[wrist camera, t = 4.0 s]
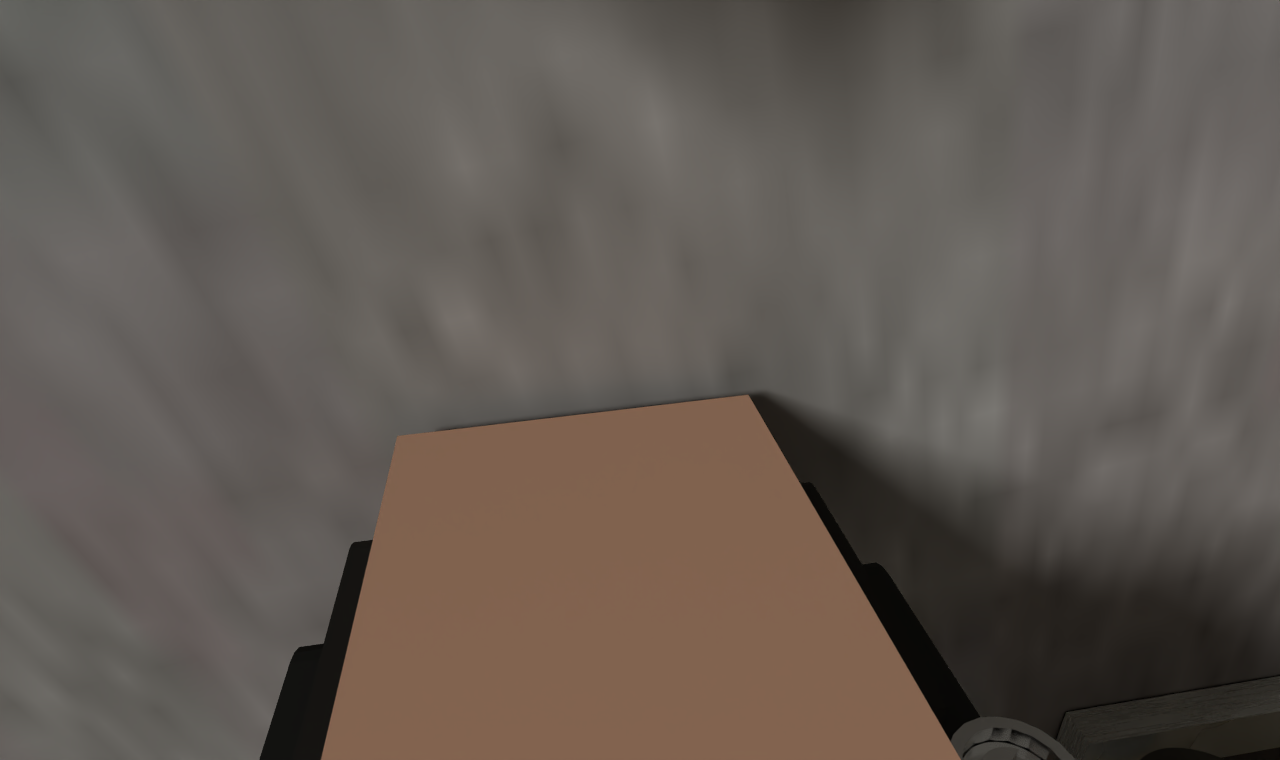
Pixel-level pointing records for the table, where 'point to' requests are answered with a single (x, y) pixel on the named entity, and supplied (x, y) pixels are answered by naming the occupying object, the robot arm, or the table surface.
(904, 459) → the table surface
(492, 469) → the block
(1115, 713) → the rails
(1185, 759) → the cart
